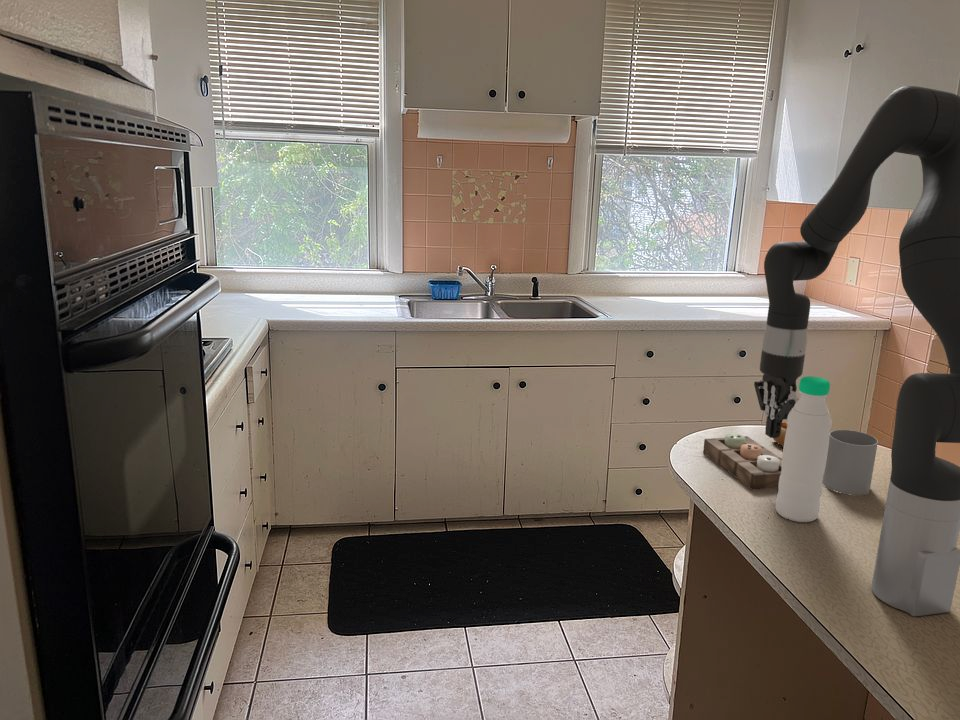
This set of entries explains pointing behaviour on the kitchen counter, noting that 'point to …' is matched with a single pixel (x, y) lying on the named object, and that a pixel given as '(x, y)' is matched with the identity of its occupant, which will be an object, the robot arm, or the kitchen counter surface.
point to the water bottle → (805, 452)
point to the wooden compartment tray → (742, 464)
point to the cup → (850, 462)
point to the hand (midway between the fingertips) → (772, 436)
